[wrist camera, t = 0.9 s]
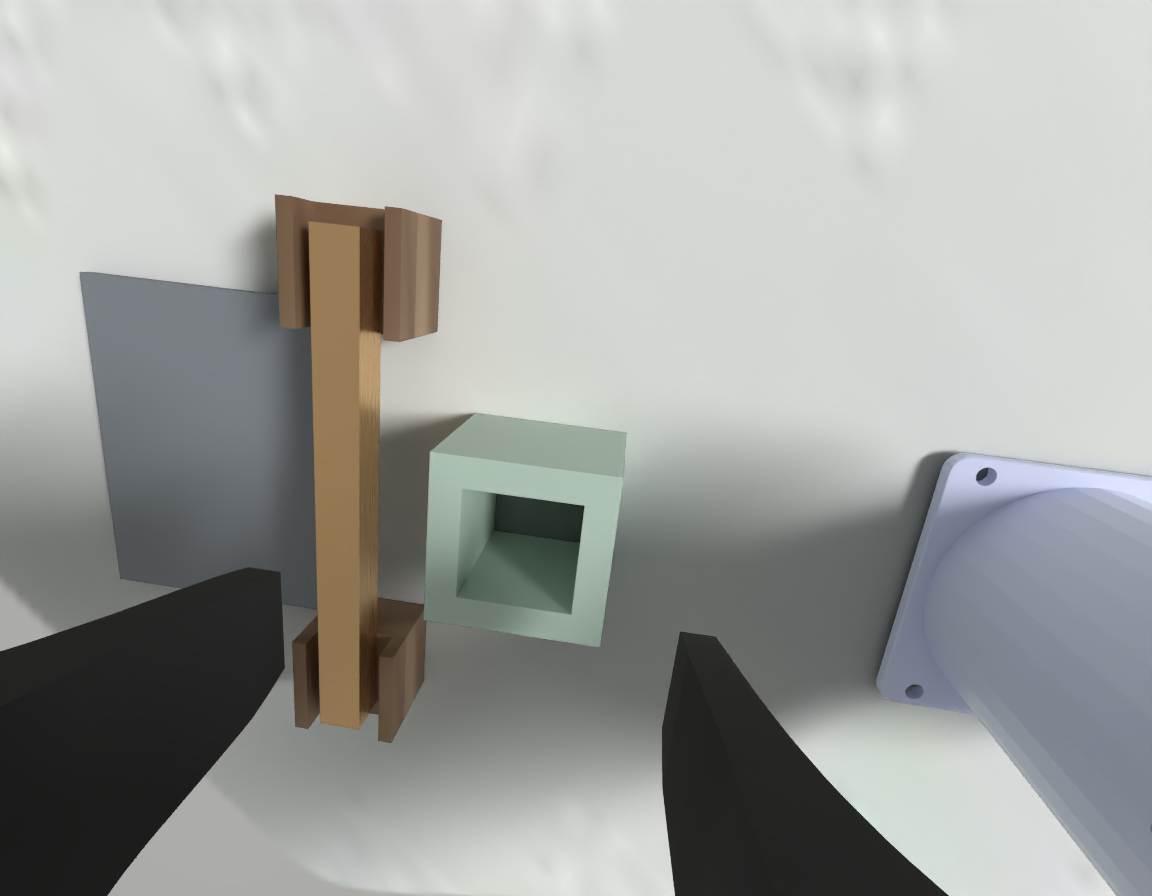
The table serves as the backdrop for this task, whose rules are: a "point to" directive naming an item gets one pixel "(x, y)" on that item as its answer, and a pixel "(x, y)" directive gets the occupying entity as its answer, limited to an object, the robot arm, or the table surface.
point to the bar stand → (403, 317)
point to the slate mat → (204, 432)
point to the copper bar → (346, 463)
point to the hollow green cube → (514, 561)
